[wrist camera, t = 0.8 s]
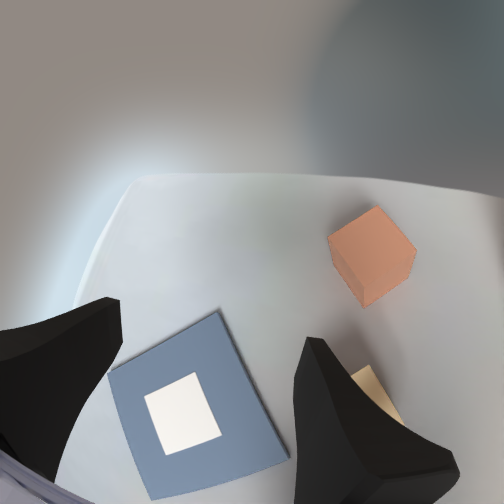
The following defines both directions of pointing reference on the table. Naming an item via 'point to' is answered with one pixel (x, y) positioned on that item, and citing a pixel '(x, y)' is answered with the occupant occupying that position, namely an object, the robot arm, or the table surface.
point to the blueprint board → (193, 413)
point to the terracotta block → (371, 255)
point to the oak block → (375, 391)
